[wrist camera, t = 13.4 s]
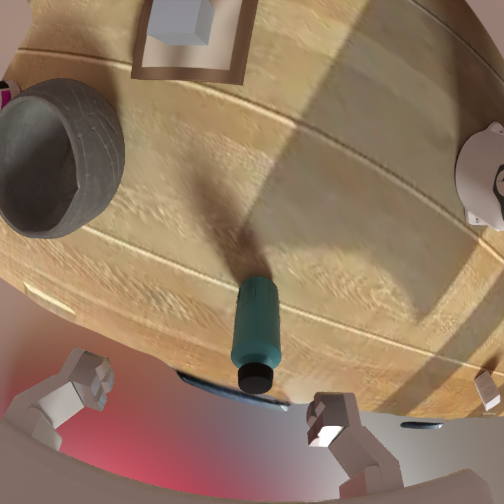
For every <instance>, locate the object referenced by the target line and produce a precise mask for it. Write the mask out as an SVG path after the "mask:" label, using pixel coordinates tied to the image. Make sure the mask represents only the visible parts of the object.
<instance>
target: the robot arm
mask: <svg viewBox="0 0 504 504" xmlns="http://www.w3.org/2000/svg"><path fill="white" fill-rule="evenodd" d="M456 187H457V191H458V194H459V197H460V199H461V201H462V203H463V205H464V208H465V217H466V221H467V222H468V223H470V224H472V225H488V226H490V227H491V228H493V229H494V230H496V231H500V230H502V231H504V127H503V126H502V125H501V124H499V123H497V122H492V123H491V124H490V125H489V126H488V128H487V129H486V130H484V131H481V132H478V133H476V134H474V135H472V136H471V137H470V138H469V139H468V140H467V141H466V143H465V144H464V146H463V147H462V149H461V152H460V154H459V157H458V160H457V165H456ZM109 365H110V360H109V358H107V357H104V356H101V355H98V354H95V353H92V352H88V351H86V350H83V349H80V348H77V347H76V348H74V349H73V350H72V352H71V353H70V355H69V357H68V358H67V360H66V362H65V363H64V365H63V367H62V369H61V370H60V372H59V374H58V375H53V376H51V377H49V378H48V379H46V380H44V381H42V382H40V383H38V384H37V385H35V386H33V387H31V388H29V389H27V390H25V391H24V392H22V393H20V394H18V395H16V396H15V397H14V399H13V401H12V402H11V404H10V406H9V408H8V410H7V412H6V413H5V416H4V417H3V419H2V418H0V504H493V499H492V494H491V490H490V487H489V485H488V483H487V482H486V481H485V480H484V479H483V478H481V477H480V476H479V475H478V474H476V473H475V472H474V471H472V470H471V469H463V470H460V471H457V472H455V473H452V474H449V475H446V476H443V477H440V478H437V479H433V480H430V481H427V482H423V483H420V484H416V485H412V486H408V487H404V485H403V480H402V475H401V470H400V465H399V461H398V460H397V459H396V458H395V457H394V456H393V455H392V454H391V453H390V452H389V451H388V450H387V449H386V448H385V447H384V446H383V445H382V444H381V443H380V442H379V441H378V440H377V439H376V438H375V436H374V435H373V434H372V433H371V432H370V431H369V430H368V429H367V428H366V427H365V426H362V425H361V421H360V416H359V411H358V407H357V402H356V398H355V395H354V393H341V392H317V393H316V394H315V395H314V401H312V402H310V404H309V406H308V409H307V416H306V420H307V424H308V425H309V426H310V429H309V431H308V432H307V434H308V446H329V447H328V448H329V450H330V451H331V452H332V454H333V455H334V457H335V458H336V459H337V461H338V462H339V464H340V465H341V466H342V468H343V469H344V470H345V472H346V473H347V474H348V476H349V477H350V479H349V480H347V481H346V482H344V483H343V484H342V485H340V486H339V492H340V499H331V500H318V501H294V502H276V501H251V500H238V499H228V498H219V497H211V496H204V495H198V494H192V493H187V492H182V491H177V490H172V489H168V488H163V487H159V486H155V485H151V484H147V483H144V482H140V481H137V480H133V479H130V478H127V477H123V476H120V475H117V474H114V473H111V472H109V471H106V470H103V469H100V468H98V467H95V466H93V465H90V464H88V463H85V462H83V461H80V460H78V459H76V458H73V457H71V456H69V455H67V454H65V453H62V452H60V451H59V448H60V445H61V443H62V437H61V436H60V435H59V434H58V433H57V431H56V430H55V429H56V428H57V427H58V426H59V425H61V424H62V423H63V422H65V421H66V420H67V419H69V418H70V417H71V416H73V415H74V414H75V413H77V412H78V411H79V410H81V409H82V408H83V407H84V406H87V407H89V408H93V409H96V410H99V411H102V410H103V407H104V405H105V402H106V400H107V398H106V395H105V394H106V393H107V392H109V391H111V388H112V386H113V381H114V373H113V370H112V369H111V368H110V367H109Z"/></svg>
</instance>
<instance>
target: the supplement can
mask: <svg viewBox="0 0 504 504" xmlns="http://www.w3.org/2000/svg"><path fill="white" fill-rule="evenodd" d="M19 93H20V89H19V87H18V85H17V83H16V82H15V81H13V80H6V81H0V111H1V109H2V108H3V107H4V106H5V105H6V104H7V103H8V102H9V101H10V100H11V99H12V98H13V97H15V96H16V95H18V94H19Z"/></svg>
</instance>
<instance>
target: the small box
mask: <svg viewBox="0 0 504 504" xmlns="http://www.w3.org/2000/svg"><path fill="white" fill-rule="evenodd" d="M474 381H475V385H476V389H477V391H478V393H479V395H480V398H481V400H482V402H483V404H484V406H485V409H486V411H488V410H489V409H490V408H492V407H493V406H495V405H496V404H498V403H499V402H500V393H499V391H498V389H497V387H496V385H495V383H494V381H493V379H492V377H491V375H490V374H489V372H488V370H486V371H485V372H484V373H482V374H481V375H480V376H478V377H477V378H475V379H474Z"/></svg>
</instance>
